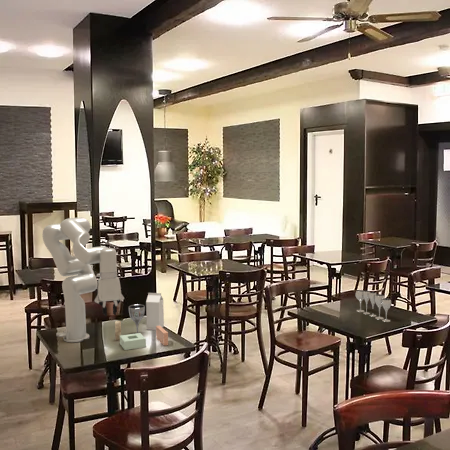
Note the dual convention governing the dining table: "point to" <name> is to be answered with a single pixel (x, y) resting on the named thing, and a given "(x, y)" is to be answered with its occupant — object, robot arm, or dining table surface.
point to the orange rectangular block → (162, 335)
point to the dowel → (117, 330)
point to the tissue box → (132, 341)
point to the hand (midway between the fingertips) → (109, 314)
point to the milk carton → (154, 311)
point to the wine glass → (136, 313)
